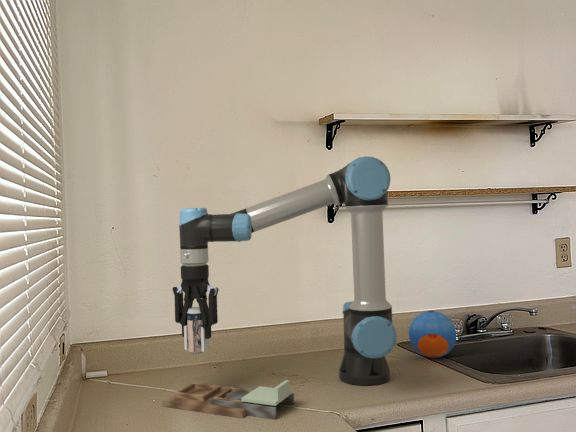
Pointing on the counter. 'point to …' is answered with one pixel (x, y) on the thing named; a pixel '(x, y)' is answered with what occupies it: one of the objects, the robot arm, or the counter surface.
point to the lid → (268, 394)
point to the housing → (220, 401)
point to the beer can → (194, 330)
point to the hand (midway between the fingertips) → (197, 349)
